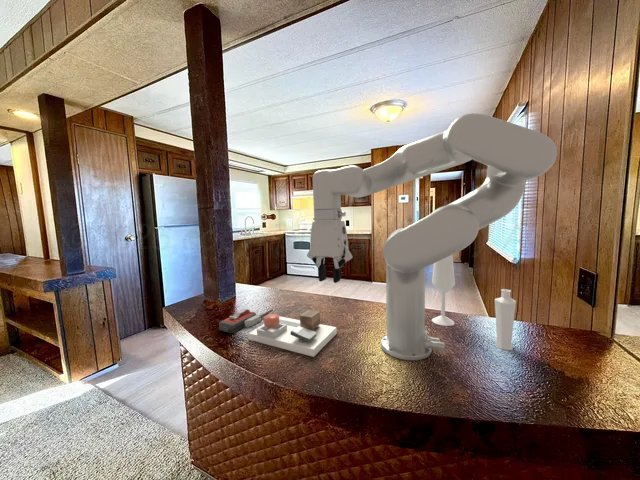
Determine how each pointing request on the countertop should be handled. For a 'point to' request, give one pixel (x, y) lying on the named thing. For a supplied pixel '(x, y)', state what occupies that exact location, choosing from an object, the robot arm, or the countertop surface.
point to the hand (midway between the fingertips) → (329, 280)
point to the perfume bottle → (504, 319)
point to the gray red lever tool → (241, 320)
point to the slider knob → (310, 319)
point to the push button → (271, 320)
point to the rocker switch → (303, 333)
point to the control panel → (284, 340)
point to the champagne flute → (443, 285)
